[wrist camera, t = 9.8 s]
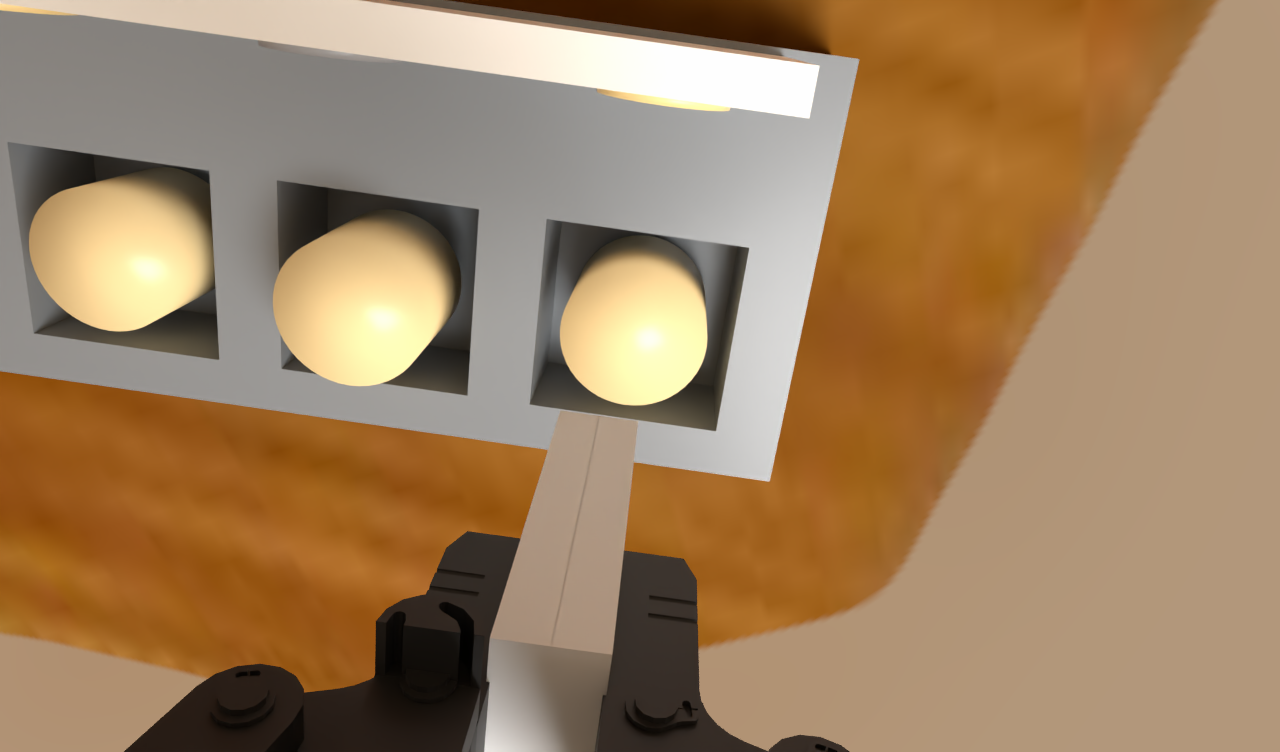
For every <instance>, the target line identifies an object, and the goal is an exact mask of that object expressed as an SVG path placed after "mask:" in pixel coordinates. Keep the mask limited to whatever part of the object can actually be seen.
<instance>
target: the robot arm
mask: <svg viewBox="0 0 1280 752" xmlns="http://www.w3.org/2000/svg"><path fill="white" fill-rule="evenodd" d="M637 428H638V421H634V420H626V419H619V418H612V417H605V416H597V415H590V414H583V413H576V412H568V411H561V410H560V414H559V417H558V420H557V423H556V426H555V430H554V433H553V436H552V439H551V443H550V446H549V449H548V452H547V455H546V459H545V462H544V465H543V468H542V472H541V475H540V478H539V481H538V484H537V488H536V491H535V494H534V497H533V500H532V504H531V507H530V510H529V513H528V517H527V520H526V523H525V526H524V529H523V533H522V536H521V539H519V538H512V537H505V536H497V535H490V534H483V533H476V532H468V531H467V532H466V533H465V534H463V535H462V536H461V537H460V538H458V539H457V540H456V541H455V542H453V543H452V544H451V545H449V546H448V547H447V548H446V550H445V553H444V555H443V557H442V559H441V561H440V564H439V566H438V568H437V573H435V575H434V577H433V579H432V582H431V584H430V588H429V590H428V591H427V593H426V595H420V596H416V597H412V598H408V599H403V600H402V601H400V602H398V603H396V604H394V605H393V606H391V607H389V608H387V609H386V610H385V611H384V613H383V614H382V615H381V616H380V617H379V618H378V620H377V621H376V657H375V676H374V678H372V679H370V680H368V681H365V682H363V683H360V684H357V685H355V686H350V687H345V688H340V689H333V690H324V691H315V692H306V693H304V689H303V687H302V685H301V684H300V682H299V680H298V679H297V677H296V676H295V675H293V674H291V673H290V672H288V671H286V670H285V669H283V668H281V667H276V666H270V665H264V664H255V665H245V666H237V667H234V668H231V669H228V670H225V671H223V672H220V673H217V674H215V675H213V676H212V677H210V678H209V679H207V680H206V681H204V682H203V683H201V684H200V685H198V686H197V687H195V688H194V689H193V690H192V691H191V692H190V693H189V694H188V695H186V696H185V697H184V698H183V699H182V700H181V701H180V702H179V703H178V704H176V705H175V706H174V707H173V708H172V709H171V710H170V711H169V712H168V713H166V714H165V715H164V716H163V717H162V718H161V719H160V720H159V721H157V722H156V723H155V724H154V725H153V726H152V727H151V728H150V729H149V730H148V731H147V732H145V733H144V734H143V735H142V736H141V737H140V738H139V739H137V740H136V741H135V742H134V743H133V744H132V745H131V746H130V747H129V748H128V749H126V750H125V751H124V752H768V751H766V750H763V749H761V748H759V747H756V746H754V745H751V744H749V743H746V742H744V741H742V740H740V739H738V738H736V737H734V736H732V735H730V734H729V733H728V732H726V731H725V730H724V729H722V728H721V727H720V726H718V725H717V724H716V723H715V722H714V720H713V719H712V718H711V717H710V716H709V715H708V713H707V712H706V710H705V708H704V705H703V703H702V702H701V697H700V692H699V665H698V663H699V662H698V661H699V660H698V624H697V620H698V618H697V580H696V578H695V576H694V575H693V573H692V572H691V570H690V568H689V567H688V565H687V564H686V562H685V560H684V559H681V558H674V557H667V556H659V555H652V554H645V553H637V552H630V551H624V545H625V536H626V527H627V518H628V509H629V500H630V491H631V482H632V473H633V464H634V455H635V446H636V437H637ZM769 752H849V751H848V750H846V749H845V748H844V747H842V746H841V745H839V744H836V743H834V742H831V741H829V740H826V739H824V738H821V737H815V736H805V735H797V736H793V737H789V738H785V739H782V740H780V741H779V742H778V743H777V744H775V745H774V746H773V747H772V748H770V749H769Z"/></svg>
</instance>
